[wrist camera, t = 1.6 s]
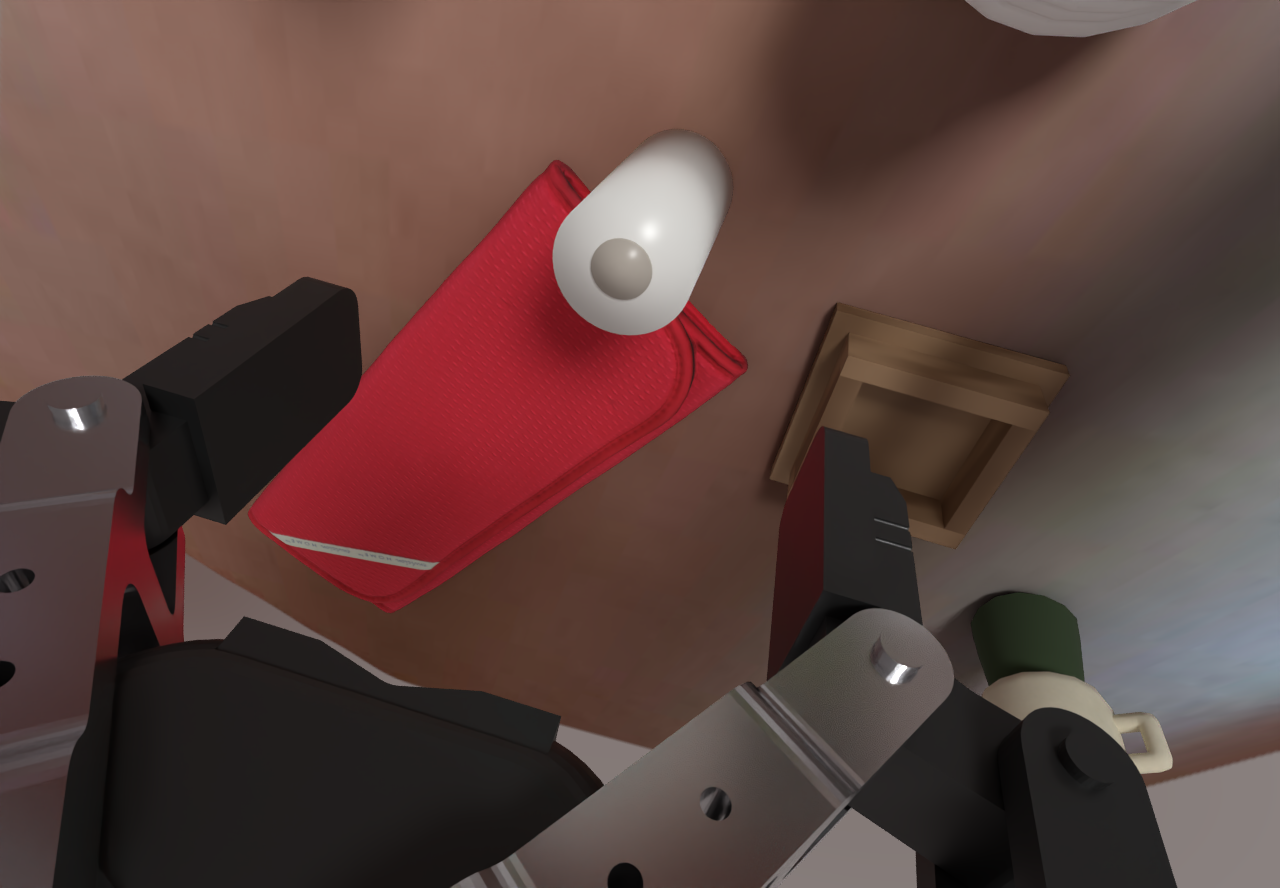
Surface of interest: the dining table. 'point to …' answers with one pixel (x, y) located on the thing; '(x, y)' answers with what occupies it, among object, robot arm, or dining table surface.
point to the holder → (923, 413)
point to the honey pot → (1074, 14)
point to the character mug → (1051, 671)
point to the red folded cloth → (484, 416)
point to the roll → (644, 234)
